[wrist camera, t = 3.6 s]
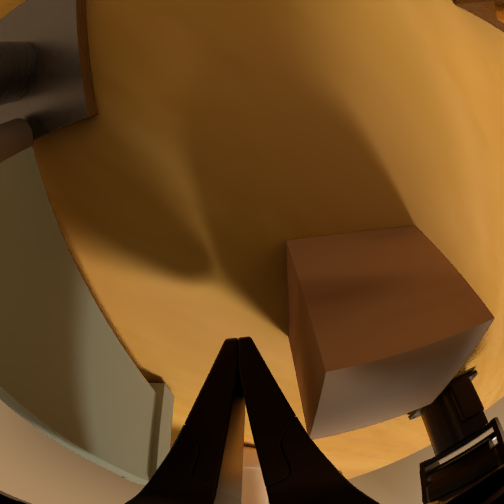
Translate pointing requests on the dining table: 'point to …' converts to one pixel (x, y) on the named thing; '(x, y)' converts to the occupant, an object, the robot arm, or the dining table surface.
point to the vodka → (252, 479)
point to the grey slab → (66, 336)
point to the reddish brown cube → (376, 325)
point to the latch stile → (485, 10)
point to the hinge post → (45, 65)
